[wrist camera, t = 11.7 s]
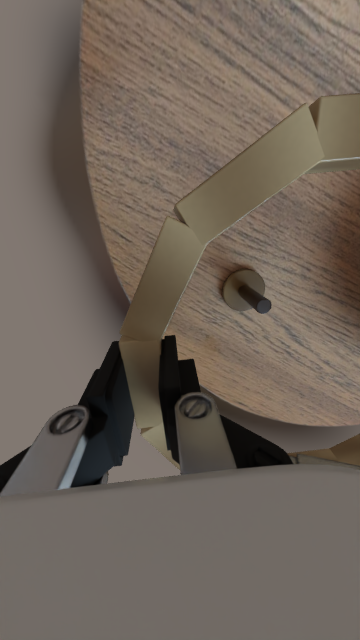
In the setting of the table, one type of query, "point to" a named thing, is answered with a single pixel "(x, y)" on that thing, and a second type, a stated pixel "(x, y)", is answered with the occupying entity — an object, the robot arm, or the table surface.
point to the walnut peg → (245, 291)
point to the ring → (212, 220)
